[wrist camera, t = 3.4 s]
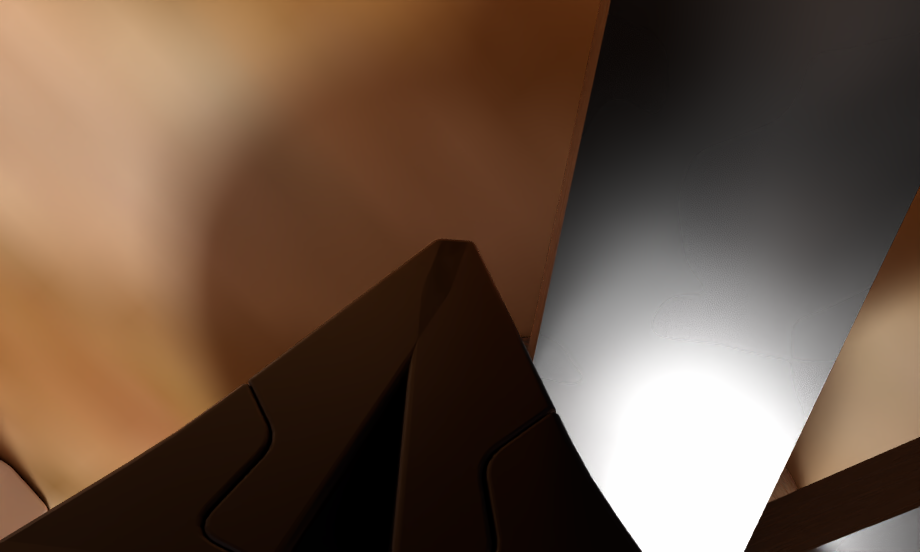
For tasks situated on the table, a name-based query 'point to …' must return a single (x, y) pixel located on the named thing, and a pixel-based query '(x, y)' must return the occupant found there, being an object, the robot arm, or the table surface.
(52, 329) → the table surface
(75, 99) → the table surface
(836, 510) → the pot
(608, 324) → the lid
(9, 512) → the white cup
